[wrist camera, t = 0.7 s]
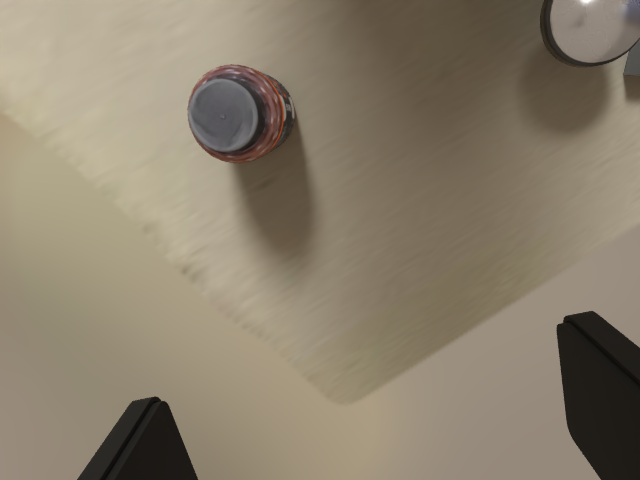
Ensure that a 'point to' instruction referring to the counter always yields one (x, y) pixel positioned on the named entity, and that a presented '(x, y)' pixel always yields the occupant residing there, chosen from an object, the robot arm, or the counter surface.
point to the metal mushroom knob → (590, 30)
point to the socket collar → (633, 61)
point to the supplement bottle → (239, 113)
